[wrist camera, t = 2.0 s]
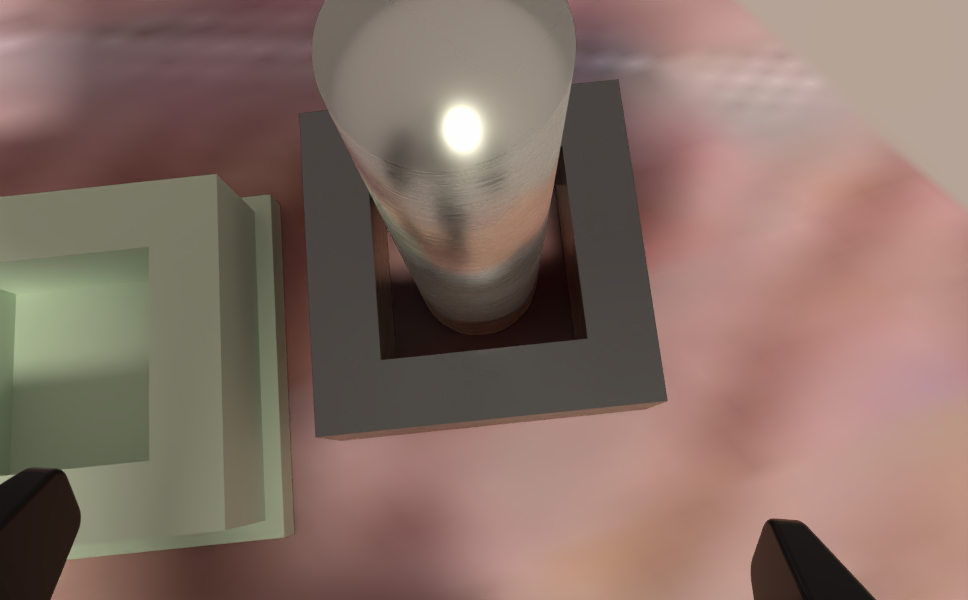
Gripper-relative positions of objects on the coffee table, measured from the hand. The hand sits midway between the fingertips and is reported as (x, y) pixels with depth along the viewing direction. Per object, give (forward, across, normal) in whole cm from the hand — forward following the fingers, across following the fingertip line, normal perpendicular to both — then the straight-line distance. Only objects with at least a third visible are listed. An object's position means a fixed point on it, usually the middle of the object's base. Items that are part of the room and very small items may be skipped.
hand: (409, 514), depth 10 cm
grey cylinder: (+13, 0, +4) cm, 14 cm away
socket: (+13, 0, +4) cm, 14 cm away
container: (+10, +10, +7) cm, 16 cm away
